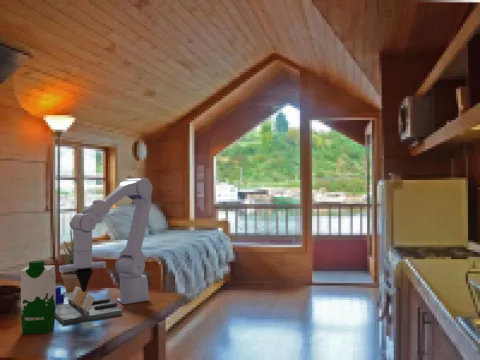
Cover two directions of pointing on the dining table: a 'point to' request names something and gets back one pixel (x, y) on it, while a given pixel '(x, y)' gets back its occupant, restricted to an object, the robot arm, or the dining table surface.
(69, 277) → the potted plant
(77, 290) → the ivory paddle
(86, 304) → the ivory paddle
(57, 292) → the cable clip
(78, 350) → the dining table surface
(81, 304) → the orange paddle
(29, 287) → the milk carton
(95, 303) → the cords
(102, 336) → the dining table surface
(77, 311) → the panel
